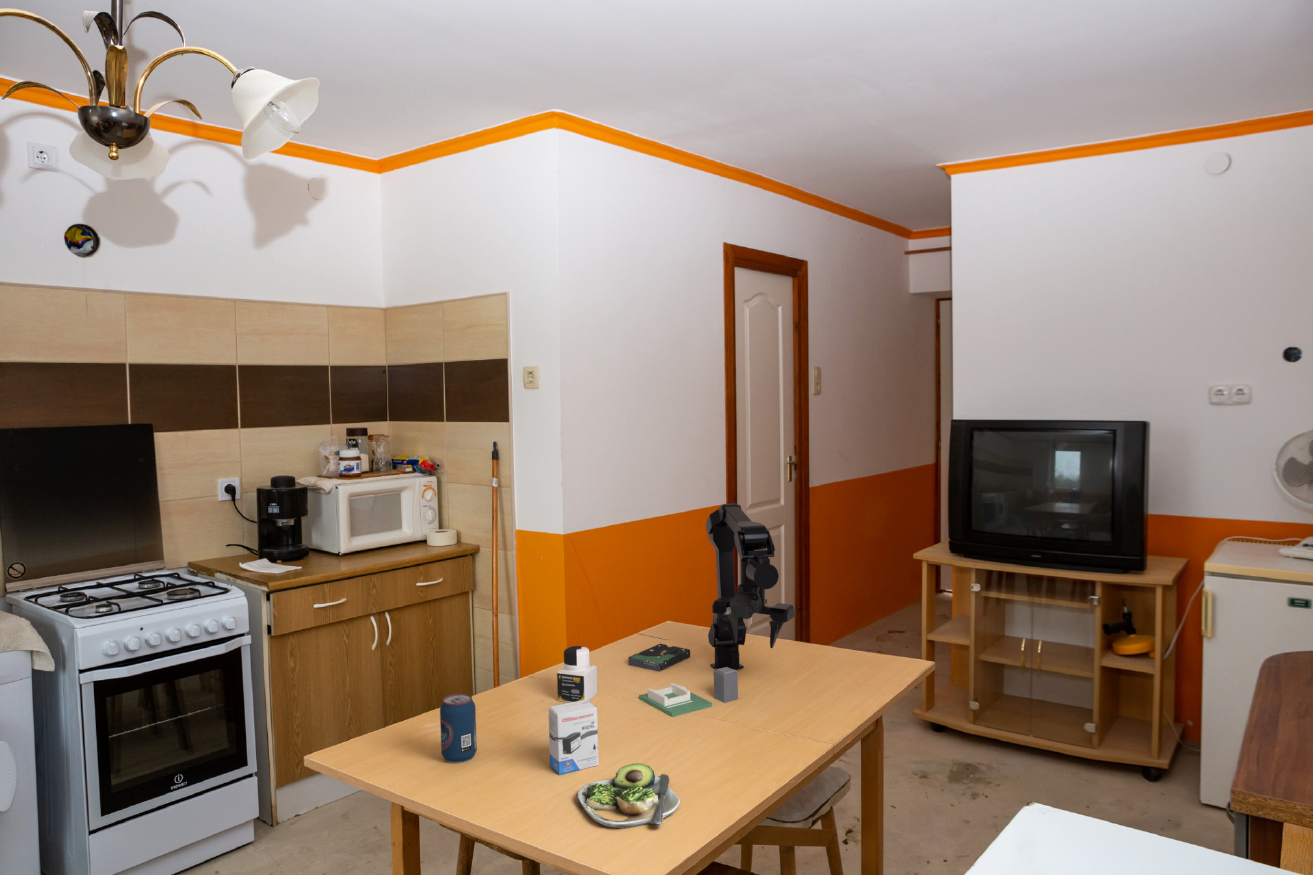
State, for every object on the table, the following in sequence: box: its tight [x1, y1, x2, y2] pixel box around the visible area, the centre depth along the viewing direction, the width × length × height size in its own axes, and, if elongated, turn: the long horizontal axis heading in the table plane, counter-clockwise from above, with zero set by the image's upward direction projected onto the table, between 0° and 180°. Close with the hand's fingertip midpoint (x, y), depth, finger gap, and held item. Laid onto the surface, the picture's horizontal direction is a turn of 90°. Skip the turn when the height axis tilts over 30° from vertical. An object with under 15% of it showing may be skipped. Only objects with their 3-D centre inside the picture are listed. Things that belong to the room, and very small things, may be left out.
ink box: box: [548, 700, 600, 776], centre depth 170 cm, size 8×5×12 cm, turn 117°
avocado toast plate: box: [577, 762, 681, 829], centre depth 153 cm, size 19×18×5 cm
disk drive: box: [628, 643, 691, 672], centre depth 235 cm, size 10×3×15 cm
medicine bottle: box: [556, 645, 598, 703], centre depth 208 cm, size 7×7×12 cm
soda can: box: [439, 693, 478, 764], centre depth 175 cm, size 7×7×12 cm
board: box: [638, 682, 713, 718], centre depth 204 cm, size 14×11×3 cm
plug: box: [713, 667, 739, 704], centre depth 205 cm, size 4×4×7 cm
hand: (753, 645), depth 204 cm, fingers open, 9 cm apart
